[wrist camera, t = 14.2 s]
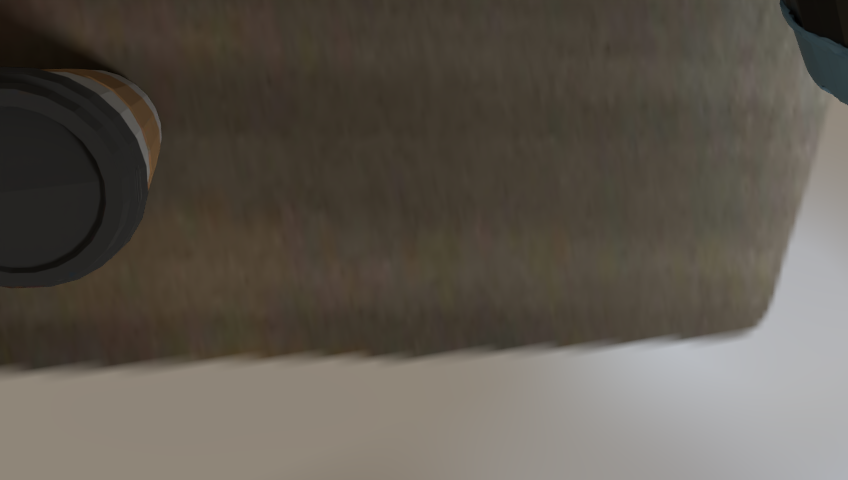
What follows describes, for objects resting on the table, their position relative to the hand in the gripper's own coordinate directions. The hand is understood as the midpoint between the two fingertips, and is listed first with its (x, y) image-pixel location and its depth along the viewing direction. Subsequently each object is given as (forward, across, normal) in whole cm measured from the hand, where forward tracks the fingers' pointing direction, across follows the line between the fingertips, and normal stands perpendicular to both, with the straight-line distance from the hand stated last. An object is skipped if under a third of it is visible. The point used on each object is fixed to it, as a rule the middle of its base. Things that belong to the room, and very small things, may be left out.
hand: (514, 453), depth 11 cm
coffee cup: (+32, -13, +2) cm, 35 cm away
